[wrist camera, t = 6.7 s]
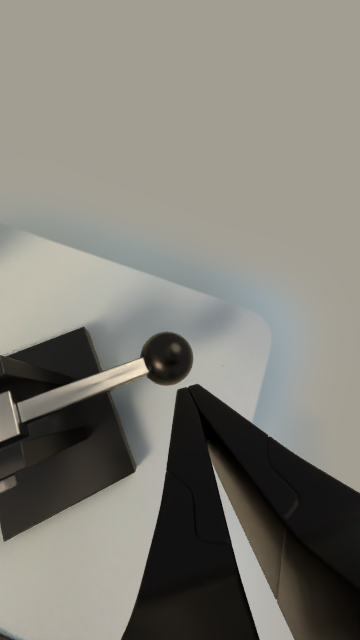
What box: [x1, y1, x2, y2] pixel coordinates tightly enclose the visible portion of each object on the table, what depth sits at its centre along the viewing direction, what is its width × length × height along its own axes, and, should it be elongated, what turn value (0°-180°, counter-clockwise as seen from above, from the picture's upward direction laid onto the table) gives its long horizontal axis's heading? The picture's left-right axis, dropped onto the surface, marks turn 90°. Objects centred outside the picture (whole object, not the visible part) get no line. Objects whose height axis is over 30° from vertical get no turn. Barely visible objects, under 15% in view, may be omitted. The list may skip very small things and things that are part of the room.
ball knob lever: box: [0, 332, 193, 449], centre depth 14 cm, size 13×4×4 cm, turn 115°
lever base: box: [0, 327, 137, 541], centre depth 14 cm, size 9×12×10 cm
